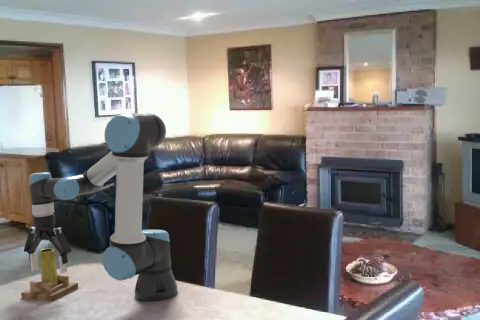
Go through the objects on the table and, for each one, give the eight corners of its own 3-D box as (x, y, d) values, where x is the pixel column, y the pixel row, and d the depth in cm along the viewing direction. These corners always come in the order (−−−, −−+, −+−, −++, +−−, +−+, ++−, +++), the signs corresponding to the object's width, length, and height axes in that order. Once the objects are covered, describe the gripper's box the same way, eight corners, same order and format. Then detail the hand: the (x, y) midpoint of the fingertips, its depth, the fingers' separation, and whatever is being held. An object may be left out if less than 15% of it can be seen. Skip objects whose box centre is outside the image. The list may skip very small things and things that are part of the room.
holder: (78, 288, 192) (77, 273, 191) (52, 301, 179) (50, 286, 178) (49, 285, 197) (48, 271, 196) (21, 297, 184) (20, 283, 183)
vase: (53, 290, 184) (49, 252, 183) (37, 290, 185) (34, 252, 184) (62, 285, 190) (58, 247, 189) (47, 284, 191) (44, 247, 190)
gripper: (78, 213, 184) (83, 269, 186) (25, 212, 193) (30, 266, 195) (63, 217, 177) (69, 276, 179) (9, 216, 186) (15, 272, 188)
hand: (49, 271), depth 187 cm, fingers open, 13 cm apart
